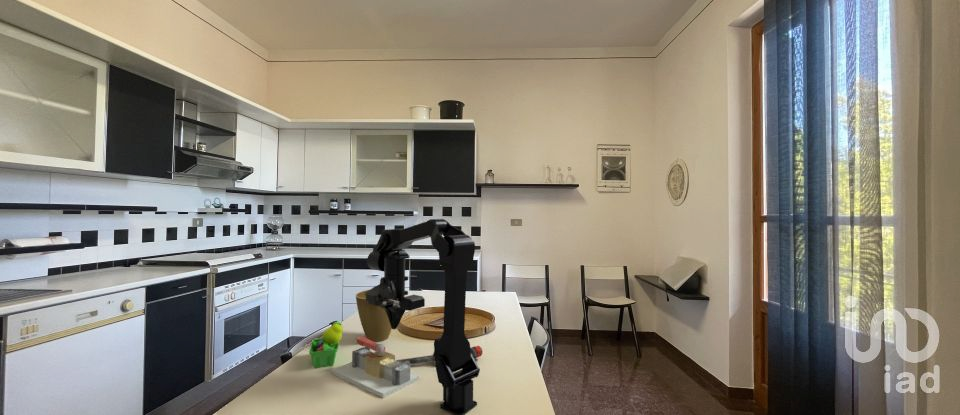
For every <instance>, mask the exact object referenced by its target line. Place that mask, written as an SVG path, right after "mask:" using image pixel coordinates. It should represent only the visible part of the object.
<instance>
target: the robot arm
mask: <svg viewBox="0 0 960 415" xmlns="http://www.w3.org/2000/svg"><path fill="white" fill-rule="evenodd" d="M428 238H430V241H431V246H432V247H433V248H434V249H435V250H436V251H437V252H438V260H439V264H440V265H441V267H442V270H443V271H444V272H445V275H444V276H445V277H444V278H445V280H444V299H443V300H444V301H443V302H444V305H443V306H444V308H443V332H442V335H441V337H438V338H436V339H434V341H433V354H432V355H433V357H435V361H434V365H435V369H436V370H435V372H436V375H437V376H436V377H437V380H438V383H439V384H441V387H442V390H443V391H442V400H443V402H442V403H440V404H439V408H440V409H442V410H444V411H447V412H448V413H451V414H454V415H465V414H467V413H468V412H469V411H470V410H472V409H474V407H476V406H478V402H477V401H476V400H474V380H473V379H475V378H478V377H479V375H480V371H481V370H480V367H479V365H478V363H477V362H476V359H475V360H474V358H473V356H472V354H471V350H470V348H471V343H470V341H469V340H468V337H467V335H466V334H465V327H466V326H465V320H466V294H467V292H466V291H467V274H468V271H469V269H470V268H471V266H472V264H473V261H474V257H475V252H476V244H475V243H476V242H475V241H474V240H473V239H472V237H471V236H470V235H469V234H466V233H465V232H464V231H463V230H461V229H460V228H457V227H456V226H454V225H452V224H450V222H448V220H446V219H445V218H433V219H432V218H430V219H428V220H426V221H424V222H421V223H418V224H414V225H412V226H408V227H405V228H393V229H384V230H383V231H382V232H381V235H380V236H379V239H378V240H377V242H376V245H375V246H373V248H372V251H371V252H370V253H369V254H368V255H367V258H366V264H367V266H368V267H369V268H370V269H371V270H375V271H380V272H383V275H384V276H383V277H380V279H379V284H378V285H375V286H374V287H372V288H370V289H367V290H368V291H367V292H366V293H365V295H366V300H367V301H368V304H373V305H375V306H380V307H382V308H383V309H384V310H385V311H386V313H387V316H388V319H389V322H390V325H391V328H392V329H391V330H396V329H398V327H399V325H400V322H401V320H402V318H403V316H404V314H405V313H406V311H414V310H417V309H421V308H424V307H425V306H426V305H425V302H426V300H425V298H424V297H423V296H422V295H417V294H411V295H409V291H408V290H406V281H409V276H406V259H410V258H411V257H410V254H408V252H406V250H405V249H407V248H409V247H410V246H412V244H413V243H414V242H417V241H421V240H425V239H428Z"/></svg>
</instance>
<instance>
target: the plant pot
mask: <svg viewBox="0 0 960 415" xmlns="http://www.w3.org/2000/svg"><path fill="white" fill-rule="evenodd" d="M368 290H369V289H365V290H362V291H359V292H358V293H356V294H355V301H356V306H357V313H358V316H359V321H360V324H361V326H362V330H363V333H364V335H365V336H364V337H365V338H368V339H369V340H371V341H373V342H375V343H378V342H384V341H386V340H388V339H389V337H390V334H391V332H392V330H393V329H392V328H391V325H390V322H389V319H388V316H387V313H386V311H385V310H384V309H383V308H382V307H380V306H375V305H373V304H368V301H367V300H366V295H365V293H366V292H367V291H368Z"/></svg>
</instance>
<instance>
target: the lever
mask: <svg viewBox="0 0 960 415" xmlns="http://www.w3.org/2000/svg"><path fill="white" fill-rule="evenodd" d="M355 342H356V344H357V345H358V346H361V347H367V348H369V349H370V350H372V351H373V352H376V355H377V356H382V355H384V351H385V352H386V346H385V344H384V343H378V342H373V341H371V340H369V339H368V338H366V336H361V337H358V338H356V340H355Z"/></svg>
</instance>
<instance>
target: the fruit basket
mask: <svg viewBox="0 0 960 415" xmlns="http://www.w3.org/2000/svg"><path fill="white" fill-rule="evenodd" d="M343 331H344V327H343V325H342V323H341V322H340V321H335V322H333V324H332V325H331V326H330V327H327V329H324V332H323V333H322V336H323V337H322V338H320V337H319V338H315V339H313V340H312V342H311V345H310V348H309V351H308V352H309V355H310V356H311V361H312V364H313V367H314V368H315V369H316V368H323V367H329V366H330V367H331V366H334V363H335V359H336V355H337V352H338V350H339V342H341V340H342V337H343Z"/></svg>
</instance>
